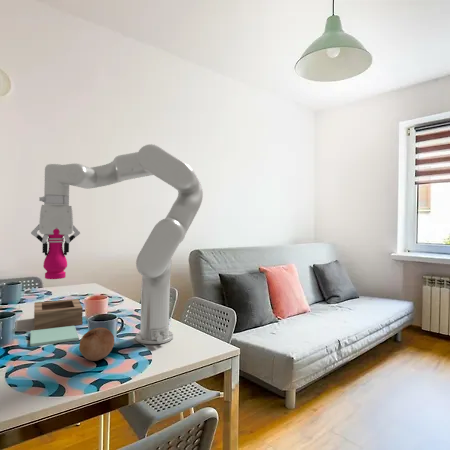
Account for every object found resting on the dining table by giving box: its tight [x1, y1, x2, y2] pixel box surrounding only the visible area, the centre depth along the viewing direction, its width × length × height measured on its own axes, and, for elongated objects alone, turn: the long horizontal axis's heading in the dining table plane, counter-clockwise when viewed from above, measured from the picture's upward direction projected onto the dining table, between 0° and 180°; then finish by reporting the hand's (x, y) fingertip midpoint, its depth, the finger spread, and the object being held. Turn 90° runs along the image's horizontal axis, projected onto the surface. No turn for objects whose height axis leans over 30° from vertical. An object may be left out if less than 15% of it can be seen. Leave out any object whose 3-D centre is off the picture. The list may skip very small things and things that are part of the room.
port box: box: [33, 298, 84, 330], centre depth 131 cm, size 16×16×6 cm
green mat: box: [29, 325, 80, 348], centre depth 115 cm, size 14×14×1 cm
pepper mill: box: [43, 228, 68, 280], centre depth 114 cm, size 7×7×20 cm
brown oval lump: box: [78, 326, 115, 362], centre depth 98 cm, size 10×9×10 cm
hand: (55, 254), depth 114 cm, fingers closed on pepper mill, 5 cm apart
